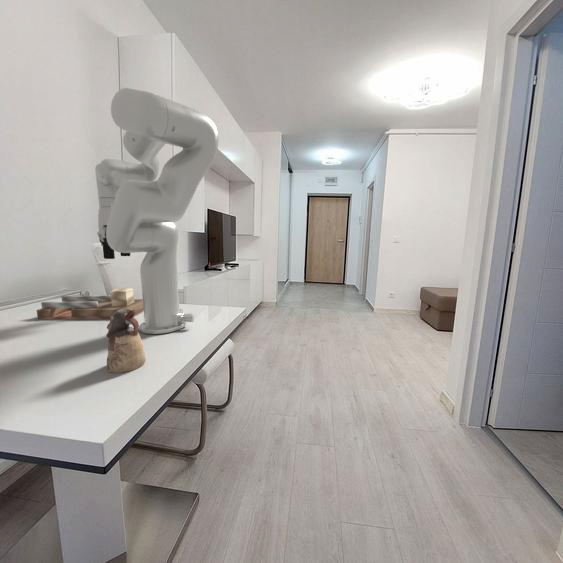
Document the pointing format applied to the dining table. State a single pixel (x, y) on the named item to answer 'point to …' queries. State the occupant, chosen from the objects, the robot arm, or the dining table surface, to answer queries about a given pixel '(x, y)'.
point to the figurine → (124, 343)
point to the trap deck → (85, 308)
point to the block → (122, 297)
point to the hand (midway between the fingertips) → (118, 257)
